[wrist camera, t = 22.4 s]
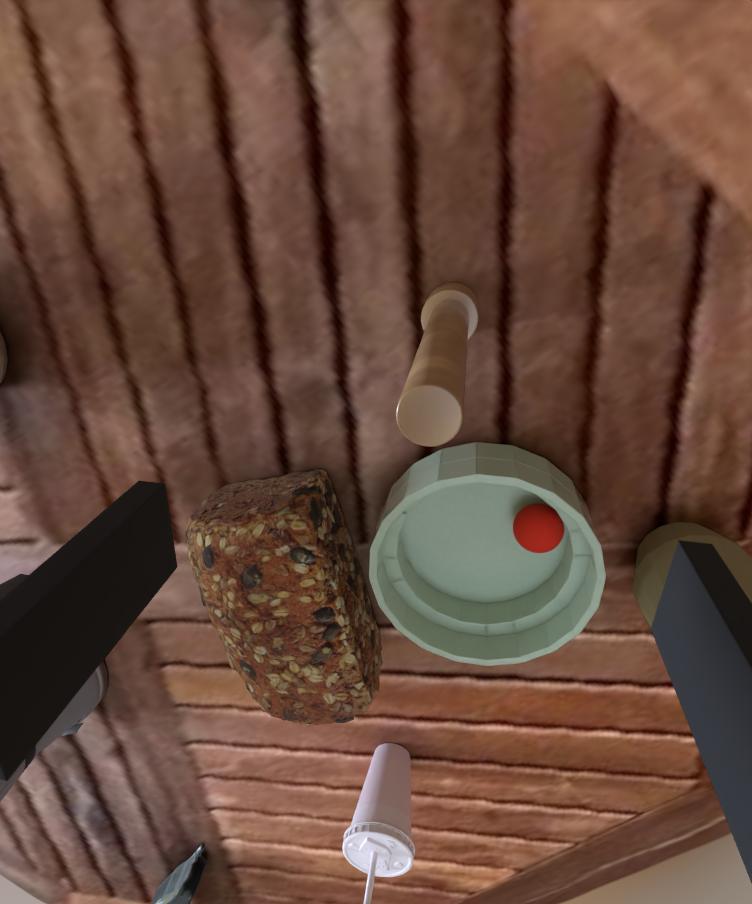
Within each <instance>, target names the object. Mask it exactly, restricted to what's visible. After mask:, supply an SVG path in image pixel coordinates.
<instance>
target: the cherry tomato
mask: <svg viewBox="0 0 752 904" xmlns="http://www.w3.org/2000/svg"><path fill="white" fill-rule="evenodd" d="M513 533H514V536H515V538H516V540H517V542H518V543H519V544H520V545H521V546H522V547H523V548H524V549H526V550H528V551H530V552H533V553H546V552H549V551H551V550H553V549H554V548H556V547H557V546H558V545H559V543H560V542H561V540H562V538H563V535H564V523H563V521H562V520H561V518H560V516H559V515H558V513H557V511H556V510H555V509H553V508H552V507H550V506H548V505H545V504H540V503H535V504H530V505H527V506H525V507H524V508H522V509H521V510H520V511H519V512H518V513H517V515H516V516H515V519H514V522H513Z"/></svg>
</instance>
